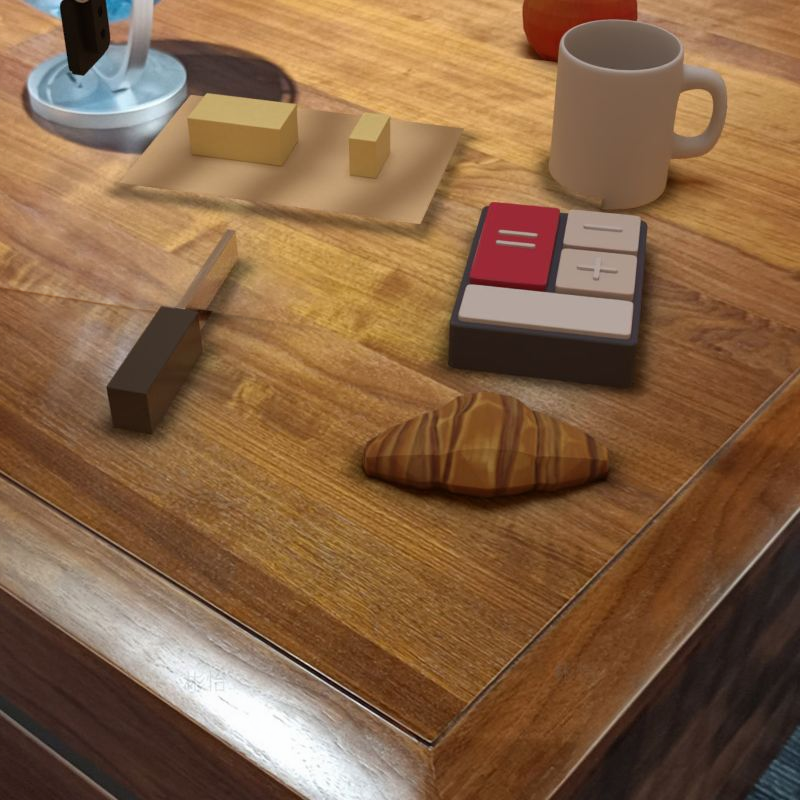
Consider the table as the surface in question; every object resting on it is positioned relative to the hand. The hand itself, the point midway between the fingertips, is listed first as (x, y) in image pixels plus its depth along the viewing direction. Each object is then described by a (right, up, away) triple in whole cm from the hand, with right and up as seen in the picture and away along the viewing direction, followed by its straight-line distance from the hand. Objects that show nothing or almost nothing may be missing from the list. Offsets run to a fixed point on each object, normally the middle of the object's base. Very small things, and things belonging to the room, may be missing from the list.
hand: (3, 51), depth 71 cm
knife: (+8, -15, +12) cm, 21 cm away
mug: (+38, -3, +28) cm, 47 cm away
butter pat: (+19, -1, +27) cm, 33 cm away
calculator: (+30, -13, +15) cm, 36 cm away
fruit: (+36, +10, +44) cm, 58 cm away
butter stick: (+9, 0, +29) cm, 30 cm away
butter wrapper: (+13, -2, +29) cm, 32 cm away
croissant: (+25, -23, +4) cm, 34 cm away
